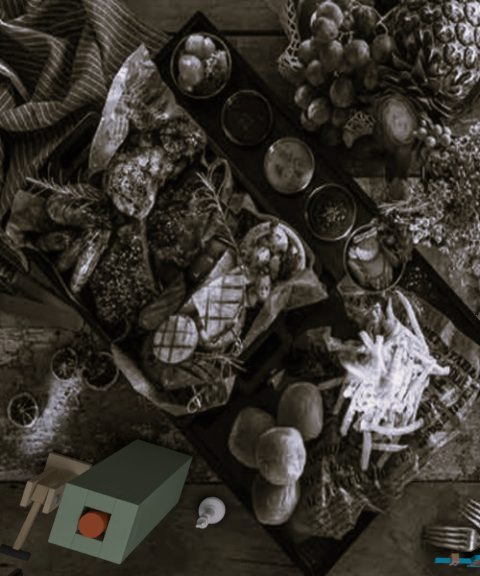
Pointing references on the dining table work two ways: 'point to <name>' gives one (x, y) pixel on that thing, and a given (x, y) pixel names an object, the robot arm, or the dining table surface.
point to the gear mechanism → (459, 560)
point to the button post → (121, 499)
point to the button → (93, 523)
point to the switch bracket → (54, 479)
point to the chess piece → (210, 511)
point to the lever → (27, 525)
